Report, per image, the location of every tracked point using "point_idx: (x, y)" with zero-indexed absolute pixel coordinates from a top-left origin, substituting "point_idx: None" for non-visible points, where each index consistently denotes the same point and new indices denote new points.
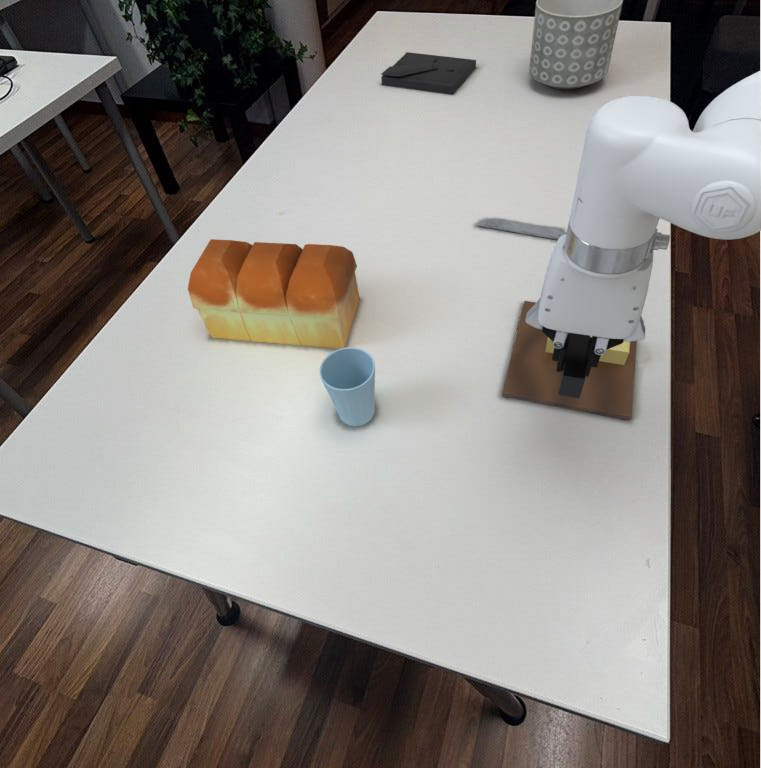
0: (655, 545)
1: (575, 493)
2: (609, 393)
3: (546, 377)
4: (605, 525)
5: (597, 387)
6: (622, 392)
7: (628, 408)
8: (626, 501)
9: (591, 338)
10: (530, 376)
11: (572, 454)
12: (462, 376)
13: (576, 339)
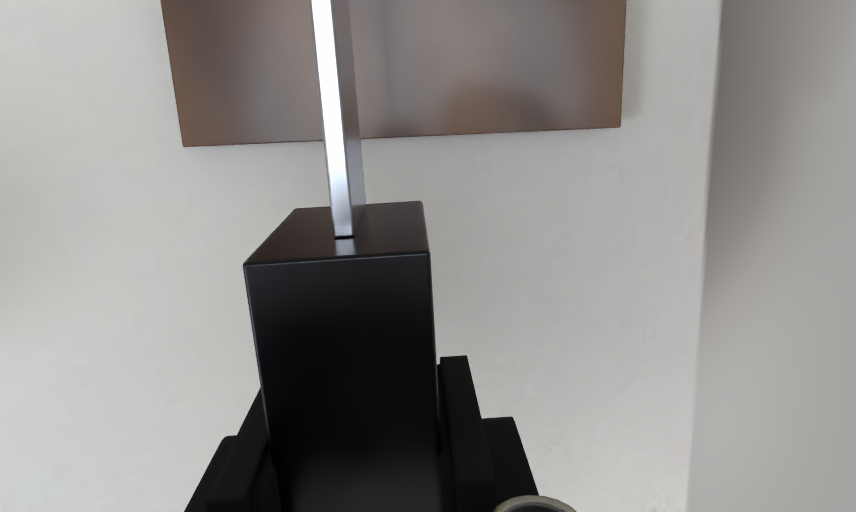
0: (671, 476)
1: (479, 409)
2: (545, 43)
3: None
4: (558, 465)
5: (502, 25)
6: (589, 25)
7: (610, 95)
8: (606, 392)
9: (453, 506)
10: (256, 41)
11: (455, 298)
12: (20, 93)
13: (339, 474)
